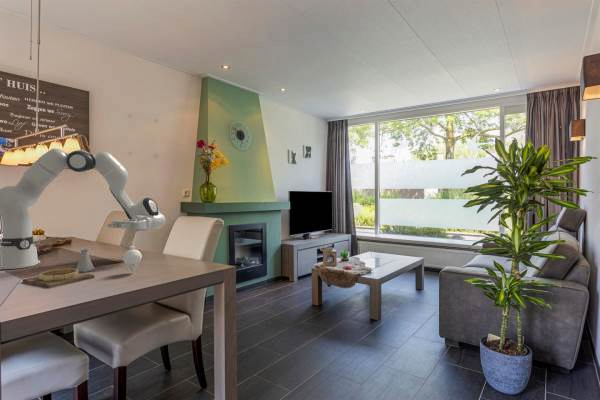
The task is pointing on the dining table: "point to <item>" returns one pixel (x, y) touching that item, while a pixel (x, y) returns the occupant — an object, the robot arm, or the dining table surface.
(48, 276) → the wooden ring
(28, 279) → the walnut board
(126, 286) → the dining table surface
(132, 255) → the spinning top
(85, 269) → the flask
